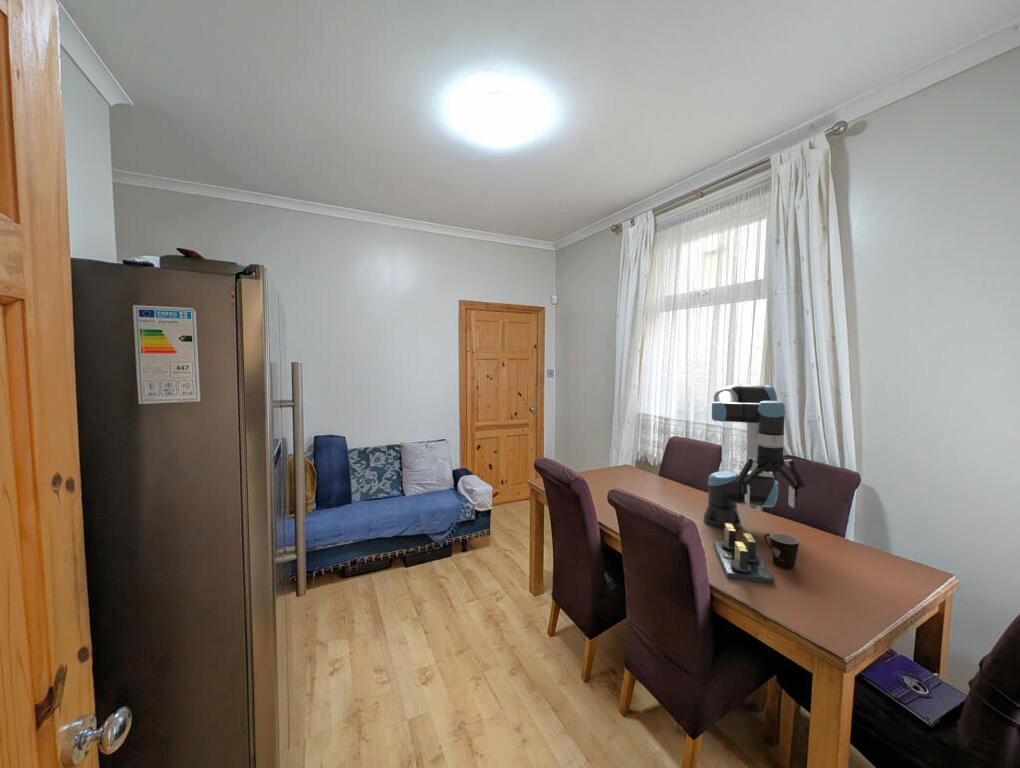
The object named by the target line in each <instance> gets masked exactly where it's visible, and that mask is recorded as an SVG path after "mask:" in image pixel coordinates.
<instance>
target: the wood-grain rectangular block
mask: <svg viewBox="0 0 1020 768" xmlns="http://www.w3.org/2000/svg"><path fill="white" fill-rule="evenodd" d="M742 542H743V544H744V545H745V547H746V549H747V550H748V562H750V563H757V562H758V561H759V556H758V555H757V554H756V551H757V542H756V540H755V539H754V537H753V536H752V534H751V533H747V532H742Z"/></svg>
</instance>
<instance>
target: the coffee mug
mask: <svg viewBox="0 0 1020 768" xmlns="http://www.w3.org/2000/svg"><path fill="white" fill-rule="evenodd" d="M767 536H768V537H769V538H770V544H769V542H768V539H767ZM763 539H764V541H765V543H766V545H767V546H768V547H769V549H770V550H771V555H772V556H771V558H772V563H773V565H774V566H776V567H778V568H779V569H783V570H788V571H792V570H794V569H795V566H796V562H797V556H798V550H799V546H800V540H799V539H797V537H794V536H792V535H789V534H787V533H779V532H775V533H770V534H769V533H766V534H764V536H763Z"/></svg>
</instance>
